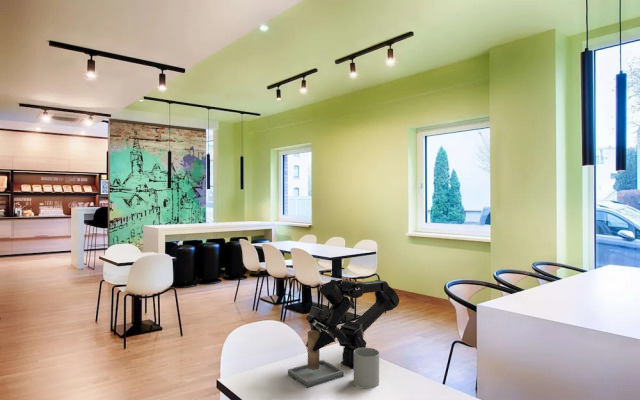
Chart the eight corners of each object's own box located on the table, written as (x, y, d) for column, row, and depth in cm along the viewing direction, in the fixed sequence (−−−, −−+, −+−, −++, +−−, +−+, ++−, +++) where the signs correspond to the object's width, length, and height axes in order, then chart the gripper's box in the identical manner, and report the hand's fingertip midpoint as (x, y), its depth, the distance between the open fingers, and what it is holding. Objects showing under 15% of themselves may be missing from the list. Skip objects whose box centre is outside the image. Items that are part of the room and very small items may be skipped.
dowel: (315, 363, 140) (314, 329, 140) (321, 367, 137) (321, 332, 137) (305, 366, 138) (305, 331, 138) (312, 370, 134) (312, 334, 134)
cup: (378, 389, 128) (378, 357, 128) (352, 387, 129) (352, 355, 129) (379, 378, 136) (379, 348, 136) (355, 376, 137) (355, 346, 138)
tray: (322, 364, 147) (323, 359, 147) (343, 376, 137) (343, 370, 137) (287, 374, 138) (287, 369, 138) (307, 387, 128) (307, 382, 128)
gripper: (310, 292, 147) (282, 327, 142) (338, 303, 131) (308, 343, 126) (328, 310, 151) (302, 345, 146) (357, 323, 135) (330, 363, 130)
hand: (310, 348), depth 136 cm, fingers closed on dowel, 4 cm apart
